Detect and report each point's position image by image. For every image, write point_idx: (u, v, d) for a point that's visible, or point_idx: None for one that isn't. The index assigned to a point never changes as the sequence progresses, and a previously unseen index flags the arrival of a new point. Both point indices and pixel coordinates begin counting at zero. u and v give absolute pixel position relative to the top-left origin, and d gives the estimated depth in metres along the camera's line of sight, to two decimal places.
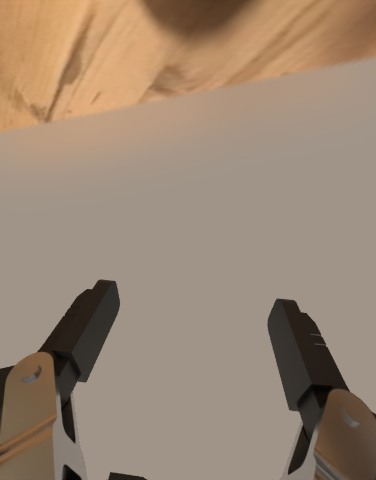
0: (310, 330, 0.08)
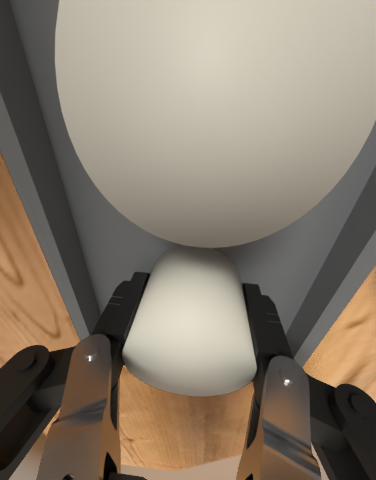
0: (268, 310, 0.09)
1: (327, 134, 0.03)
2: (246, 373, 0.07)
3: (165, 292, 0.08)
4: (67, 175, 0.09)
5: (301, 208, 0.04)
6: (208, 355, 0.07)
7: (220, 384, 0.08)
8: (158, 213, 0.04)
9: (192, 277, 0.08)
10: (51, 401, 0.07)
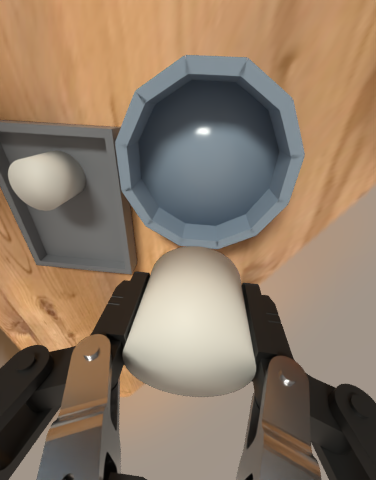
0: (269, 310, 0.09)
1: (54, 189, 0.19)
2: (246, 374, 0.07)
3: (165, 294, 0.08)
4: None
5: (58, 201, 0.20)
6: (208, 355, 0.07)
7: (220, 384, 0.08)
8: (33, 202, 0.20)
9: (192, 278, 0.08)
10: (51, 401, 0.07)
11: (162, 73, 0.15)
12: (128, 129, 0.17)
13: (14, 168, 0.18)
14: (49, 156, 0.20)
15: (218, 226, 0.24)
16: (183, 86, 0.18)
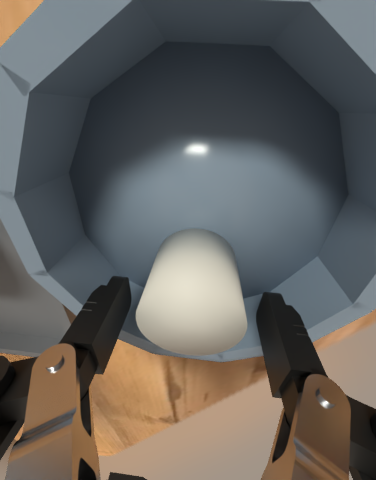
0: (294, 321, 0.09)
1: None
2: (239, 329, 0.09)
3: (171, 263, 0.09)
4: None
5: None
6: (207, 312, 0.09)
7: (217, 341, 0.10)
8: None
9: (194, 252, 0.10)
10: (12, 414, 0.06)
11: None
12: (6, 159, 0.07)
13: None
14: None
15: None
16: (147, 57, 0.08)
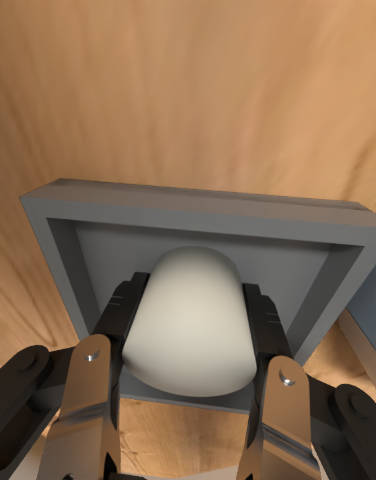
0: (268, 310, 0.09)
1: (237, 375, 0.08)
2: None
3: None
4: (101, 301, 0.13)
5: (231, 390, 0.08)
6: None
7: None
8: (164, 385, 0.09)
9: None
10: (51, 401, 0.07)
11: None
12: None
13: (150, 338, 0.07)
14: (214, 282, 0.08)
15: None
16: None
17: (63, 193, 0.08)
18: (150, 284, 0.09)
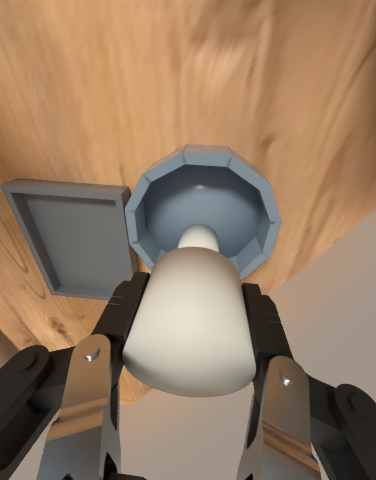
0: (268, 310, 0.09)
1: (237, 375, 0.08)
2: None
3: (189, 237, 0.23)
4: (42, 235, 0.28)
5: (231, 390, 0.08)
6: None
7: None
8: (164, 385, 0.09)
9: (198, 233, 0.23)
10: (51, 401, 0.07)
11: (164, 163, 0.18)
12: (136, 200, 0.20)
13: (150, 339, 0.07)
14: (213, 283, 0.08)
15: None
16: None
17: (16, 183, 0.23)
18: (150, 285, 0.09)
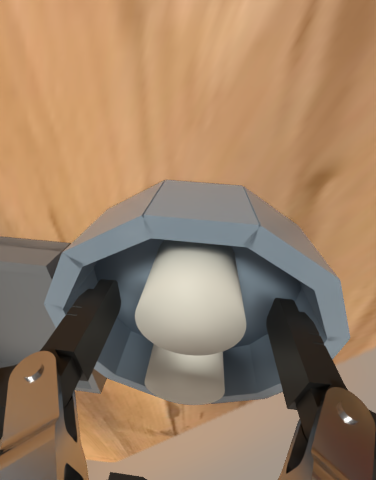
0: (308, 329, 0.08)
1: (230, 331, 0.09)
2: (219, 391, 0.12)
3: None
4: None
5: (226, 347, 0.10)
6: (195, 382, 0.12)
7: (204, 397, 0.13)
8: (169, 344, 0.10)
9: None
10: None
11: (105, 235, 0.08)
12: (61, 292, 0.10)
13: (159, 297, 0.08)
14: (211, 256, 0.10)
15: None
16: None
17: None
18: (157, 260, 0.11)
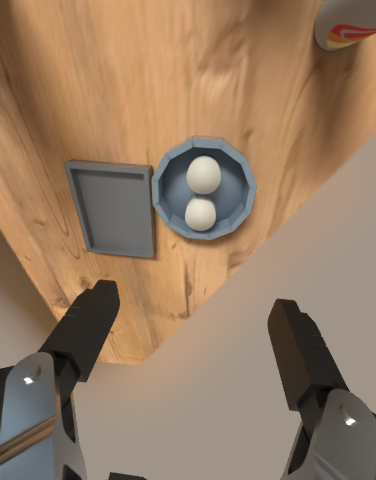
0: (310, 330, 0.08)
1: (216, 179, 0.29)
2: (213, 217, 0.33)
3: (194, 200, 0.33)
4: (85, 203, 0.38)
5: (215, 188, 0.30)
6: (204, 212, 0.32)
7: (208, 223, 0.33)
8: (196, 189, 0.30)
9: (200, 197, 0.33)
10: None
11: (179, 146, 0.28)
12: (159, 172, 0.30)
13: (195, 165, 0.28)
14: (210, 157, 0.30)
15: None
16: None
17: (74, 162, 0.34)
18: (191, 162, 0.31)
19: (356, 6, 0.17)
